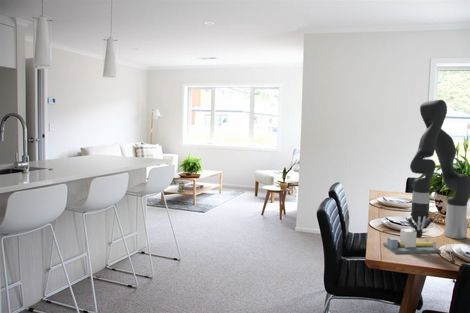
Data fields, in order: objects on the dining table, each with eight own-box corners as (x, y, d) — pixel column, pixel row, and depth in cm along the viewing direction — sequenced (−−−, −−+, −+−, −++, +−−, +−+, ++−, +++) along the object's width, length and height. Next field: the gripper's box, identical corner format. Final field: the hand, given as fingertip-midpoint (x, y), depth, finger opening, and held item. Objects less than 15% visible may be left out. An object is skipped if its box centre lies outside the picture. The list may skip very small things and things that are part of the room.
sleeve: (409, 243, 196) (410, 228, 195) (415, 247, 191) (416, 231, 190) (399, 243, 195) (400, 228, 194) (405, 247, 190) (406, 232, 189)
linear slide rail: (426, 244, 200) (426, 233, 200) (440, 252, 188) (441, 241, 188) (383, 245, 198) (383, 234, 198) (395, 253, 186) (395, 242, 186)
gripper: (429, 199, 195) (427, 234, 197) (403, 199, 194) (400, 235, 196) (438, 202, 188) (436, 239, 190) (411, 203, 187) (409, 240, 188)
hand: (418, 237), depth 193 cm, fingers closed
